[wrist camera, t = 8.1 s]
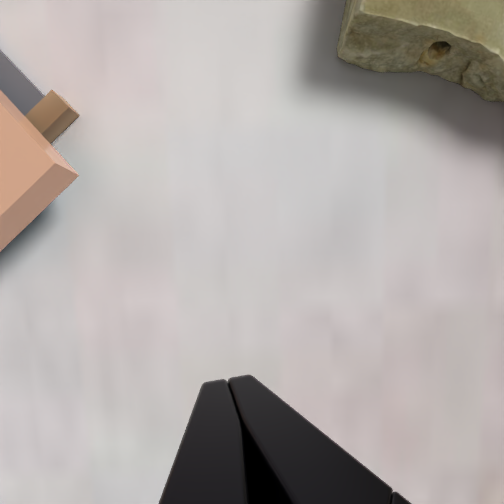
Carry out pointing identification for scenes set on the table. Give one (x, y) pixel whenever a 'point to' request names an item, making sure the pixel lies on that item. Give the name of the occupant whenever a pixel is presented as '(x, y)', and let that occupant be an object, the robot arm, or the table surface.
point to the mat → (17, 86)
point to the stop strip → (51, 116)
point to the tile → (26, 172)
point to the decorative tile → (429, 40)
